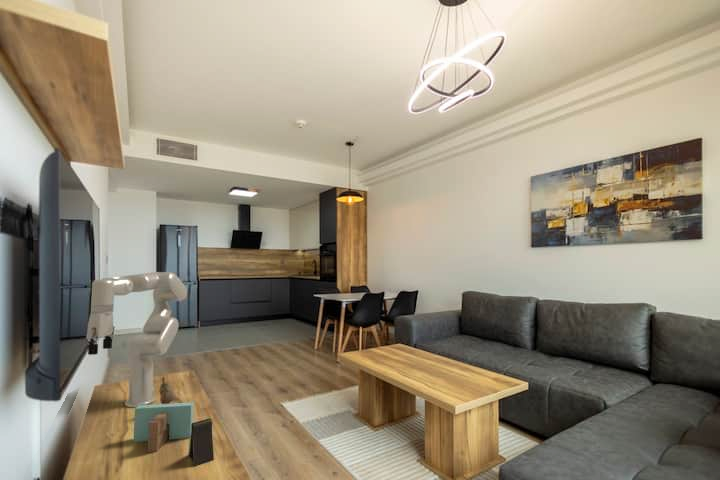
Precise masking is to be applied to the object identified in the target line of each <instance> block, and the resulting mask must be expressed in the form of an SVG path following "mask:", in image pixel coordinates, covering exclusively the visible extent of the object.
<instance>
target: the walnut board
mask: <svg viewBox="0 0 720 480" xmlns="http://www.w3.org/2000/svg"><path fill="white" fill-rule="evenodd" d="M180 400H181V399H180ZM180 400H175V401H171V402H170V403H169V404H173V403H180ZM169 432H170V424H168V425H167V413H162V414H158V415H157V416H156V417H155V418H154V419H152V420H151V421H150V422H149V437H148V441H147V447H148V448H147V453H157V452H159V450H160V449H161V448H162V446H163V445H164V444H165V443H166V442H167V440H168V439H169ZM165 441H166V442H165Z"/></svg>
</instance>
